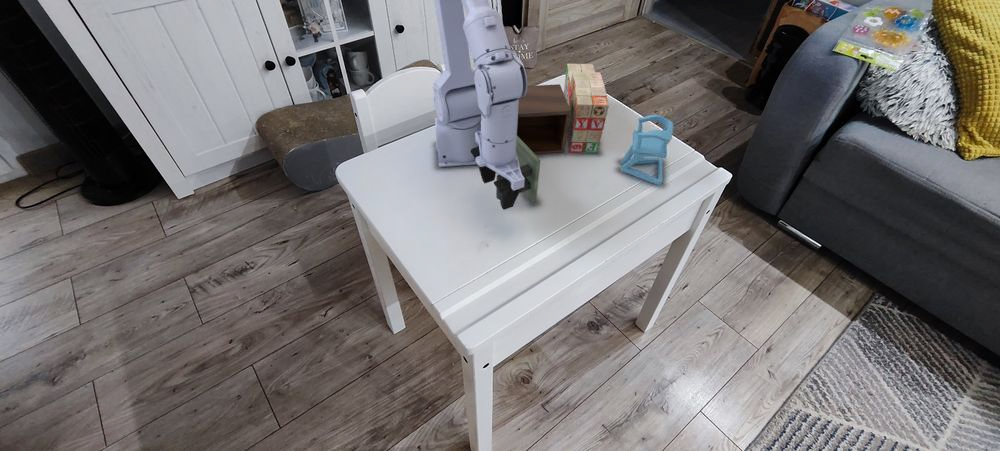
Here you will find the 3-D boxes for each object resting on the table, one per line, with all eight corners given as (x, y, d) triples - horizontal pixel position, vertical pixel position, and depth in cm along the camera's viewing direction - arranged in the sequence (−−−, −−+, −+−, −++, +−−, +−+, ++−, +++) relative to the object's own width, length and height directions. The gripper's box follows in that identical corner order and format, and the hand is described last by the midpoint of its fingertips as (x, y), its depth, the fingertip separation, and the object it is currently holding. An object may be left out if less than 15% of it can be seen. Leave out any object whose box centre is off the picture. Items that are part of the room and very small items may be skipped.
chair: (621, 155, 98) (635, 106, 89) (661, 161, 97) (678, 113, 88) (619, 178, 93) (633, 129, 84) (661, 185, 92) (679, 136, 83)
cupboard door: (501, 215, 85) (503, 173, 77) (466, 169, 93) (464, 128, 86) (536, 201, 88) (540, 159, 80) (498, 158, 96) (499, 117, 88)
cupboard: (564, 153, 98) (570, 110, 90) (496, 157, 96) (497, 115, 89) (554, 125, 105) (560, 84, 97) (491, 129, 103) (491, 87, 95)
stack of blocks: (562, 98, 112) (568, 50, 103) (587, 98, 112) (596, 51, 103) (569, 153, 98) (577, 103, 89) (598, 154, 98) (609, 104, 89)
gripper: (458, 115, 77) (461, 176, 87) (497, 166, 68) (496, 227, 78) (495, 105, 79) (494, 165, 89) (538, 153, 70) (531, 214, 80)
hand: (497, 193), depth 84 cm, fingers open, 7 cm apart
